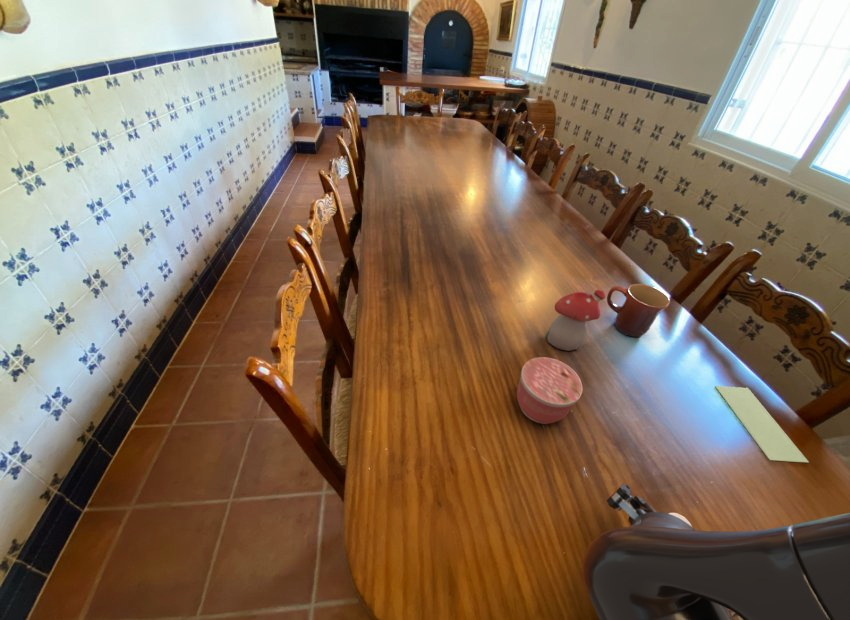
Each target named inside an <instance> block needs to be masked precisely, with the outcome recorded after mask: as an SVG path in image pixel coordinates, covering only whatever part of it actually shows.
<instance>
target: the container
mask: <svg viewBox="0 0 850 620" xmlns="http://www.w3.org/2000/svg"><path fill="white" fill-rule="evenodd" d="M516 388H517V389H516V399H517V404H518V405H519V409H520V411H521V412H522V413H523V414H524V415H525V417H526V418H528V419H529V420H531V421H533V422H534V423H538V424H541V425H549V424H554V423H556V422H557V423H558V422H559V421H562V420H563V419H565V418H566V417H567V415H568V414H569V413H570V411H571V410H572V408H573V407H574V405H575V404H576V403H577V402H578V401H579V400H580V398H581V396H582V394H583V384H582V381H581V378H580V376H579V375H578V374H577V372H576V371H575V370H574V369H573V368H572V367H570V366H569V365H568V364H566V363H565V362H563V361H560V360H559V359H555V358H553V357H552V358H551V357H548V356H547V357H545V356H543V357H542V356H540V357H534V358H531V359H529V360H527V361H526V362H525V364H524V365H523V367H522V368H521V372H520V378H519V381H518V385H517V387H516Z"/></svg>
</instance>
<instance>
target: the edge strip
mask: <svg viewBox="0 0 850 620" xmlns="http://www.w3.org/2000/svg"><path fill="white" fill-rule="evenodd" d="M714 387H715V389H716V390H717V391H718V394H719V395H720V396H721V397H722V398H723V400H724V401H725V402H726V404H727V405H728V407H729V408H730V409H731V410H732V412H733V413H734V415H735V416H736V417H737V419H738V420H739V421H740V423H741V424H742V425H743V428H745V430H746V431H747V432H748V435H750V436H751V438H752V439H753V440H754V442H755V443H756V445H757V446H758V447H759V448H760V450H761V451H762V453H763V454H764V455H765V456H766V459H768V461H769V462H773V461H774V462H787V463H788V462H789V463H802V464H803V463H804V464H809V463H810V461H809V460H808V459H807V458H806V457H805V455H804V454H803V453H802V452H801V450H800V449H799V448H798V447H797V446H796V444H795V443H794V442H793V441H792V440H791V438H790V437H789V435H787V434H786V432H785V431H784V430H783V429H782V427H781V425H779V424H778V422H777V421H776V420H775V419H774V418H773V416H772V415H771V414H770V413H769V412H768V410H767V409H766V407H765V406H764V405H763V404H762V403H761V402H760V400H759V399H758V398H757V397H756V395H755V394H754V393H753V392H752V390H751V389H749V387H740V386H739V387H738V386H723V385H714Z"/></svg>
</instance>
